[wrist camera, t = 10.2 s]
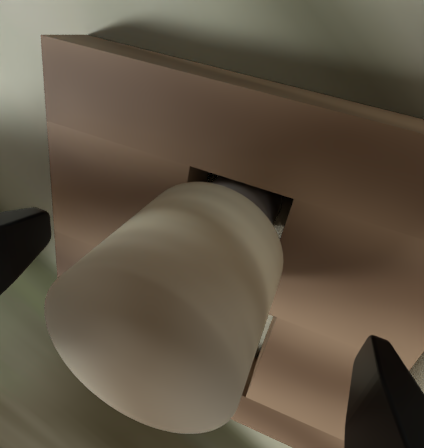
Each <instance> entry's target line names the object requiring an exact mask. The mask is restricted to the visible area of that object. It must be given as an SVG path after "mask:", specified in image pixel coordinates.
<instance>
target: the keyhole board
mask: <svg viewBox="0 0 424 448" xmlns="http://www.w3.org/2000/svg"><path fill="white" fill-rule="evenodd" d="M41 47H42V61H43V76H44V90H45V104H46V119H47V133H48V148H49V162H50V177H51V191H52V205H53V220H54V234H55V249H56V263H57V278H58V277H59V276H61V275H62V274H63V273H64V272H66V271H67V270H68V269H69V268H71V267H72V266H73V265H74V264H75V263H77V262H78V261H79V260H80V259H82V258H83V257H84V256H85V255H86V254H88V253H89V252H90V251H91V250H93V249H94V248H95V247H96V246H97V245H99V244H100V243H101V242H102V241H104V240H105V239H106V238H107V237H108V236H110V235H111V234H112V233H113V232H115V231H116V230H117V229H118V228H120V227H121V226H122V225H123V224H124V223H126V222H127V221H128V220H129V219H131V218H132V217H133V216H134V215H135V214H137V213H138V212H139V211H140V210H142V209H143V208H144V207H145V206H146V205H148V204H149V203H150V202H151V201H153V200H154V199H155V198H156V197H158V196H159V195H160V194H161V193H163V192H164V191H166V190H167V189H169V188H171V187H173V186H175V185H179V184H182V183H188V182H207V177H208V172H210V173H213V174H216V175H220V176H223V177H226V178H229V179H232V180H235V181H239V182H242V183H245V184H248V185H251V186H254V187H258V188H261V189H264V190H267V191H270V192H273V193H277V194H280V195H283V196H286V197H289V198H292V199H294V200H293V203H292V206H291V209H290V212H289V215H288V218H287V221H286V224H285V226H284V229H283V232H282V235H281V238H280V242H281V246H282V251H283V271H282V274H281V278H280V281H279V284H278V287H277V290H276V293H275V296H274V299H273V302H272V305H271V308H270V311H269V315H272V316H273V319H272V321H271V324H270V326H269V329H268V331H267V334H266V337H265V339H264V342H263V344H262V347H261V350H260V352H259V355H258V357H257V358H256V357H254V360H253V363H252V366H251V369H250V372H249V375H248V378H247V381H246V384H245V387H244V390H243V393H242V396H241V399H240V402H239V405H238V408H237V410H236V412H235V414H234V415H233V416H232V418H231V419H232V420H234V421H236V422H238V423H241V424H243V425H245V426H247V427H249V428H251V429H254V430H256V431H258V432H260V433H262V434H264V435H267V436H269V437H271V438H273V439H275V440H277V441H280V442H282V443H284V444H286V445H288V446H291V447H293V448H344V436H345V421H346V413H347V406H348V399H349V392H350V384H351V377H352V370H353V364H354V360H355V358H356V356H357V354H358V352H359V351H360V349H361V347H362V346H363V344H364V342H365V341H366V339H367V338H368V337H369V336H370V335H375V336H378V337H380V338H383V339H386V340H388V341H389V342H390V343H391V344H392V346H393V347H394V349H395V351H396V352H397V354H398V355H399V357H400V358H401V360H402V361H403V363H404V364H405V366H406V367H407V369H408V370H410V369H411V367H412V366H413V365H414V364H415V362H416V361H417V360H418V358H419V357H420V356H421V354H422V353H423V352H424V119H420V118H416V117H412V116H408V115H404V114H400V113H396V112H392V111H388V110H384V109H380V108H376V107H372V106H368V105H364V104H360V103H356V102H352V101H348V100H344V99H341V98H337V97H333V96H329V95H325V94H321V93H317V92H313V91H309V90H305V89H301V88H297V87H293V86H289V85H285V84H281V83H277V82H273V81H269V80H265V79H261V78H257V77H253V76H249V75H245V74H241V73H237V72H233V71H229V70H225V69H221V68H217V67H213V66H209V65H205V64H201V63H197V62H193V61H189V60H185V59H181V58H177V57H173V56H169V55H165V54H161V53H157V52H153V51H149V50H145V49H141V48H137V47H133V46H129V45H125V44H121V43H117V42H113V41H109V40H105V39H101V38H97V37H93V36H89V35H41Z"/></svg>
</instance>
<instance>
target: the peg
mask: <svg viewBox="0 0 424 448" xmlns="http://www.w3.org/2000/svg"><path fill="white" fill-rule="evenodd" d="M281 203H282V195H280V194H277V193H273V192H270V191H267V190H264V189H261V188H258V187H254V186H251V185H248V184H245V183H242V182H239V181H235V180H232V179H229V178H226V177H223V176H220V175H218V177H217V178H216V179H215V180H214V181H213V182H212V183H208V182H188V183H182V184H179V185H175V186H173V187H171V188H169V189H167V190H166V191H164V192H163V193H161V194H160V195H159V196H158V197H156V198H155V199H154V200H153V201H151V202H150V203H149V204H148V205H146V206H145V207H144V208H143V209H142V210H140V211H139V212H138V213H137V214H135V215H134V216H133V217H132V218H131V219H129V220H128V221H127V222H126V223H124V224H123V225H122V226H121V227H120V228H118V229H117V230H116V231H115V232H113V233H112V234H111V235H110V236H108V237H107V238H106V239H105V240H104V241H102V242H101V243H100V244H99V245H97V246H96V247H95V248H94V249H93V250H91V251H90V252H89V253H88V254H86V255H85V256H84V257H83V258H82V259H80V260H79V261H78V262H77V263H75V264H74V265H73V266H72V267H71V268H69V269H68V270H67V271H66V272H64V273H63V274H62V275H61V276H59V277H58V278H57V279H56V280H55V281H54V282H53V284H52V285H51V287H50V289H49V290H48V293H47V296H46V299H45V307H44V309H45V320H46V325H47V329H48V332H49V335H50V337H51V339H52V342H53V344H54V346H55V348H56V350H57V351H58V353H59V355H60V356H61V358H62V359H63V361H64V362H65V364H66V365H67V366H68V367H69V369H70V370H71V371H72V372H73V374H74V375H75V376H76V377H77V378H78V379H79V380H80V381H81V382H82V383H83V384H84V385H85V386H86V387H87V388H88V389H89V390H90V391H91V392H93V393H94V394H95V395H96V396H97V397H99V398H100V399H101V400H103V401H104V402H105V403H107V404H108V405H110V406H111V407H113V408H114V409H116V410H117V411H119V412H121V413H123V414H124V415H126V416H128V417H130V418H132V419H134V420H136V421H138V422H140V423H143V424H146V425H148V426H151V427H154V428H157V429H160V430H164V431H169V432H174V433H182V434H197V433H205V432H208V431H212V430H215V429H217V428H219V427H221V426H223V425H224V424H225V423H227V422H228V421H229V420H230V419H231V418H232V416H233V415H234V414H235V412H236V410H237V408H238V405H239V402H240V399H241V396H242V393H243V390H244V387H245V384H246V381H247V378H248V375H249V372H250V369H251V366H252V363H253V360H254V357H255V354H256V351H257V348H258V345H259V342H260V339H261V336H262V333H263V330H264V327H265V323H266V320H267V317H268V314H269V311H270V308H271V305H272V302H273V299H274V296H275V293H276V290H277V287H278V284H279V281H280V278H281V274H282V271H283V251H282V246H281V242H280V239H279V237H278V234H277V232H276V230H275V228H274V226H273V224H274V221H275V219H276V217H277V215H278V213H279V210H280V208H281Z"/></svg>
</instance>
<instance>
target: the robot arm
mask: <svg viewBox="0 0 424 448" xmlns="http://www.w3.org/2000/svg"><path fill="white" fill-rule="evenodd" d="M50 239H51V225H50V215H49V213H48V212H47V211H44V210H42V209H39V208H36V207H32V208H25V209H19V210H12V211H6V212H0V295H1V294H2V293H3V292H4V291H5V290H6V289H7V288H8V287H9V286H10V285H11V284H12V283H13V282H14V281H15V280H16V279H17V278H18V277H19V276H20V275H21V274H22V273H23V271H24V270H25V269H26V268H27V267H28V266H29V265H30V264H31V262H32V261H33V260H34V259H35V258H36V257H37V256H38V255H39V253H40V252H41V251H42V250H43V249H44V248H45V247H46V246H47V244H48V243H49V241H50ZM344 448H424V393H423V392H422V390H421V389H420V387H419V386H418V384H417V383H416V381H415V379H414V378H413V376H412V375H411V373H410V372H409V370H408V369H407V367H406V366H405V364H404V363H403V361H402V360H401V358H400V357H399V355H398V354H397V352H396V351H395V349H394V347H393V346H392V344H391V343H390V342H389V341H388V340H386V339H383V338H380V337H378V336H375V335H370V336H369V337H368V338H367V339H366V341H365V342H364V344H363V346H362V347H361V349H360V351H359V352H358V354H357V356H356V358H355V360H354V364H353V370H352V377H351V384H350V392H349V399H348V406H347V413H346V421H345V436H344Z"/></svg>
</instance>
